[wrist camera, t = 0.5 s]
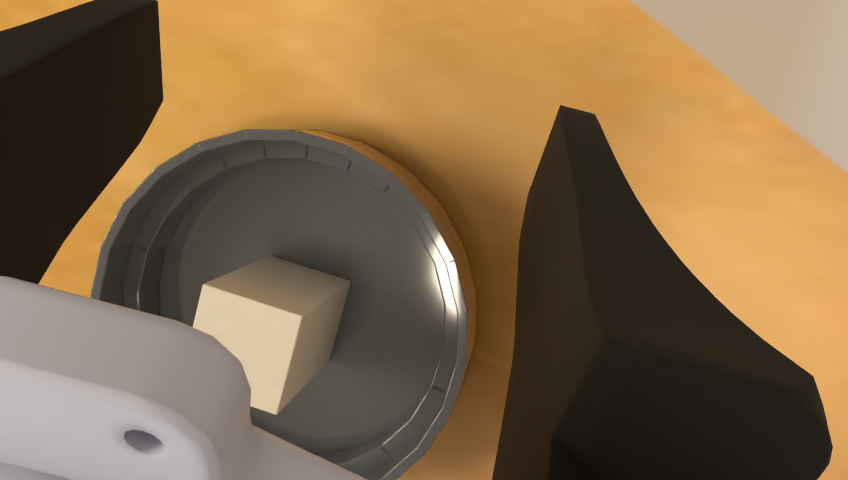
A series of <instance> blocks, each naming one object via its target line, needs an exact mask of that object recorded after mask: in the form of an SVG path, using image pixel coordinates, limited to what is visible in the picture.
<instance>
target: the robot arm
mask: <svg viewBox="0 0 848 480" xmlns="http://www.w3.org/2000/svg"><path fill="white" fill-rule="evenodd" d="M162 101H163V87H162V69H161V51H160V33H159V15H158V1H156V0H94V1H91V2H88V3H85V4H82V5H79V6H76V7H73V8H70V9H67V10H64V11H61V12H58V13H55V14H53V15H50V16H47V17H44V18H41V19H38V20H35V21H32V22H29V23H26V24H23V25H20V26H17V27H13V28H10V29H7V30H3V31H0V480H367V479H365V478H363V477H361V476H359V475H357V474H355V473H353V472H351V471H348V470H346V469H344V468H342V467H340V466H338V465H336V464H334V463H332V462H329V461H327V460H325V459H323V458H321V457H319V456H317V455H315V454H313V453H310V452H308V451H306V450H304V449H302V448H300V447H298V446H296V445H294V444H292V443H289V442H287V441H285V440H283V439H281V438H279V437H277V436H275V435H273V434H270V433H268V432H266V431H264V430H262V429H260V428H258V427H256V426H254V425H252V424H251V418H250V403H251V388H250V385H249V382H248V379H247V377H246V374H245V371H244V368H243V365H242V363H241V362H240V361H239V359H238V358H237V357H236V356H234V355H233V354H232V353H231V352H230V351H229V350H228V349H227V348H226V347H225V346H223V345H222V344H221V343H220V342H219V341H218V340H217V339H216V338H215V337H213V336H211V335H209V334H207V333H205V332H202V331H200V330H198V329H195V328H193V327H191V326H188V325H186V324H184V323H182V322H179V321H176V320H172V319H169V318H165V317H161V316H157V315H153V314H149V313H146V312H142V311H138V310H134V309H130V308H126V307H123V306H119V305H115V304H111V303H107V302H103V301H100V300H96V299H92V298H88V297H84V296H80V295H77V294H73V293H69V292H65V291H61V290H57V289H54V288H50V287H46V286H42V285H38V284H39V282H40V280H41V279H42V277H43V275H44V274H45V272H46V270H47V269H48V267H49V265H50V264H51V262H52V260H53V259H54V257H55V255H56V254H57V252H58V250H59V249H60V247H61V245H62V244H63V242H64V241H65V239H66V238H67V237H68V235H69V234H70V232H71V231H72V230H73V228H74V227H75V225H76V224H77V223H78V221H79V220H80V219H81V218H82V216H83V215H84V214H85V213H86V211H87V210H88V209H89V208H90V206H91V205H92V204H93V202H94V201H95V200H96V199H97V197H98V196H99V195H100V194H101V192H102V191H103V190H104V189H105V187H106V186H107V185H108V183H109V182H110V181H111V180H112V178H113V177H114V176H115V175H116V173H117V172H118V171H119V169H120V168H121V167H122V166H123V164H124V163H125V162H126V160H127V159H128V158H129V157H130V155H131V154H132V153H133V151H134V150H135V149H136V147H137V146H138V145H139V143H140V142H141V140H142V138H143V137H144V135H145V133H146V131H147V130H148V128H149V126H150V124H151V123H152V121H153V119H154V117H155V115H156V113H157V111H158V109H159V107H160V105H161V103H162ZM832 448H833V447H832V442H831V438H830V434H829V430H828V426H827V420H826V416H825V412H824V408H823V404H822V401H821V398H820V395H819V392H818V389H817V386H816V383H815V380H814V377H813V376H812V375H811V374H809V373H808V372H807V371H805V370H804V369H802V368H801V367H800V366H798V365H797V364H796V363H794V362H793V361H792V360H790V359H789V358H787V357H786V356H785V355H783V354H782V353H781V352H779V351H778V350H776V349H775V348H774V347H772V346H771V345H770V344H768V343H767V342H766V341H764V340H763V339H762V338H761V337H759V336H758V335H757V334H756V333H755V332H753V331H752V330H751V329H750V328H749V327H748V326H746V325H745V324H744V323H743V322H742V321H741V320H739V319H738V318H737V317H736V316H735V315H734V314H732V313H731V312H730V311H729V310H728V309H727V308H726V307H725V306H724V305H723V304H722V303H721V302H720V301H719V300H718V299H716V298H715V297H714V296H713V294H712V293H711V292H710V291H709V290H708V289H707V288H706V287H705V286H704V285H703V284H702V283H701V282H700V281H699V280H698V279H697V278H696V277H695V276H694V275H693V274H692V272H691V271H690V270H689V269H688V268H687V267H686V266H685V265H684V263H683V262H682V261H681V260H680V259H679V257H678V256H677V255H676V254H675V252H674V251H673V250H672V249H671V247H670V246H669V245H668V243H667V242H666V241H665V240H664V238H663V237H662V236H661V234H660V233H659V232H658V230H657V229H656V227H655V226H654V225H653V223H652V222H651V220H650V218H649V217H648V215H647V214H646V212H645V211H644V209H643V208H642V206H641V204H640V203H639V201H638V200H637V198H636V196H635V195H634V193H633V191H632V189H631V187H630V185H629V184H628V182H627V180H626V178H625V176H624V174H623V172H622V170H621V168H620V166H619V164H618V162H617V160H616V158H615V156H614V154H613V152H612V150H611V148H610V146H609V143H608V141H607V139H606V137H605V135H604V132H603V130H602V128H601V126H600V124H599V122H598V120H597V118H596V116H595V114H592V113H588V112H584V111H581V110H577V109H573V108H569V107H565V106H561V105H560V108H559V111H558V113H557V116H556V119H555V122H554V124H553V127H552V130H551V133H550V135H549V138H548V141H547V144H546V146H545V149H544V152H543V155H542V157H541V160H540V163H539V166H538V168H537V171H536V174H535V177H534V180H533V182H532V185H531V188H530V191H529V193H528V197H527V203H526V208H525V213H524V218H523V224H522V230H521V235H520V242H519V259H518V279H517V300H516V321H515V341H514V351H513V361H512V368H511V374H510V380H509V386H508V392H507V398H506V405H505V410H504V416H503V422H502V428H501V433H500V439H499V445H498V451H497V456H496V462H495V467H494V472H493V478H492V480H817V479H818V478H819V477H820V475H821V474H822V473H823V471H824V470H825V469H826V467H827V466H828V465H829V462H830V458H831V453H832Z"/></svg>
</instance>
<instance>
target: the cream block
mask: <svg viewBox="0 0 848 480" xmlns="http://www.w3.org/2000/svg"><path fill="white" fill-rule="evenodd" d="M350 283H351V281H349V280H346V279H343V278H340V277H337V276H333V275H330V274H327V273H324V272H321V271H318V270H314V269H311V268H308V267H305V266H302V265H299V264H295V263H292V262H289V261H286V260H283V259H280V258H276V257H273V256H269V257H266V258H264V259H261V260H259V261H257V262H254V263H252V264H250V265H247V266H245V267H243V268H240V269H238V270H235V271H233V272H231V273H228V274H226V275H224V276H221V277H219V278H217V279H214V280H212V281H209V282H207V283H205V284H203V286H202V290H201V294H200V299H199V303H198V307H197V311H196V315H195V320H194V324H193V328H195V329H198V330H200V331H202V332H205V333H207V334H209V335H211V336H213V337H215V338H216V339H217V340H218V341H219V342H220V343H221V344H222V345H223V346H225V347H226V348H227V349H228V350H229V351H230V352H231V353H232V354H233V355H234V356H236V357H237V358H238V359H239V361H240V362H241V363H242V365H243V368H244V371H245V374H246V377H247V379H248V382H249V385H250V388H251V403H250V406H251V407H254V408H257V409H260V410H263V411H266V412H269V413H272V414H275V415H277V414H278V413H279V412H280V411H281V410H282V409H283V408H284V407H285V406H286V405H287V404H288V403H289V402H290V401H291V400H292V399H293V398H294V397H295V396H296V394H297V393H298V392H299V391H300V390H301V389H302V388H303V387H304V386H305V385H306V384H307V383H308V382H309V381H310V380H311V379H312V378H313V377H314V376H315V375H316V374H317V373H318V372H319V371H320V370H321V369H322V368H323V367H324V366H325V365H326V364H327V363H328V362H329V360H330V357H331V353H332V349H333V346H334V342H335V338H336V335H337V331H338V327H339V323H340V320H341V316H342V312H343V309H344V305H345V301H346V298H347V294H348V290H349V287H350Z"/></svg>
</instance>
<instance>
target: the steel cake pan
mask: <svg viewBox="0 0 848 480" xmlns="http://www.w3.org/2000/svg"><path fill="white" fill-rule="evenodd" d="M269 256H273V257H276V258H280V259H283V260H286V261H289V262H292V263H295V264H299V265H302V266H305V267H308V268H311V269H314V270H318V271H321V272H324V273H327V274H330V275H333V276H337V277H340V278H343V279H346V280H349V281H351V283H350V287H349V290H348V294H347V298H346V301H345V305H344V309H343V312H342V316H341V320H340V323H339V327H338V331H337V335H336V338H335V342H334V346H333V349H332V353H331V357H330V360H329V362H328V363H327V364H326V365H325V366H324V367H323V368H322V369H321V370H320V371H319V372H318V373H317V374H316V375H315V376H314V377H313V378H312V379H311V380H310V381H309V382H308V383H307V384H306V385H305V386H304V387H303V388H302V389H301V390H300V391H299V392H298V393H297V394H296V396H295V397H294V398H293V399H292V400H291V401H290V402H289V403H288V404H287V405H286V406H285V407H284V408H283V409H282V410H281V411H280V412H279V413H278V414H277V415H275V414H272V413H269V412H266V411H263V410H260V409H257V408H254V407H251V406H250V418H251V424H252V425H254V426H256V427H258V428H260V429H262V430H264V431H266V432H268V433H270V434H273V435H275V436H277V437H279V438H281V439H283V440H285V441H287V442H289V443H292V444H294V445H296V446H298V447H300V448H302V449H304V450H306V451H308V452H310V453H313V454H315V455H317V456H319V457H321V458H323V459H325V460H327V461H329V462H332V463H334V464H336V465H338V466H340V467H342V468H344V469H346V470H348V471H351V472H353V473H355V474H357V475H359V476H361V477H363V478H365V479H367V480H397V479H398V478H399V477H400V476H401V475H402V474H403V473H405V472H406V471H407V470H408V469H409V468H410V467H411V466H413V465H414V464H415V463H416V462H417V461H418V460H419V459H421V458H422V457H423V456H424V455H425V453H427V451H428V450H429V448H430V446H431V445H432V443H433V442H434V440H435V439H436V437H437V436H438V434H439V433H440V431H441V429H442V428H443V426H444V425H445V423H446V422H447V420H448V419H449V417H450V415H451V414H452V412H453V409H454V406H455V403H456V400H457V397H458V394H459V391H460V389H461V386H462V382H463V379H464V376H465V373H466V369H467V366H468V363H469V359H470V356H471V353H472V350H473V346H474V343H475V323H476V295H475V294H476V291H475V287H474V283H473V279H472V275H471V271H470V266H469V262H468V258H467V254H466V250H465V248H464V245H463V243H462V241H461V239H460V238H459V236H458V234H457V232H456V230H455V228H454V227H453V225H452V223H451V221H450V219H449V217H448V216H447V214H446V212H445V210H444V208H443V206H441V204H440V202H439V201H438V200H437V199H436V198H435V197H434V196H433V195H432V194H431V193H430V192H429V191H428V190H427V189H426V188H425V187H424V186H423V185H422V183H421V182H420V181H419V180H418V179H417V178H416V177H415V176H414V175H413V174H412V173H411V172H410V171H409V170H407V169H406V168H405V167H403V166H402V165H400V164H398V163H397V162H395V161H393V160H392V159H390V158H389V157H387V156H385V155H384V154H382V153H380V152H379V151H377V150H376V149H374V148H372V147H371V146H369V145H367V144H365V143H361V142H358V141H355V140H351V139H348V138H344V137H341V136H338V135H334V134H331V133H327V132H324V131H311V130H271V129H246V130H245V129H244V130H240V131H237V132H233V133H229V134H226V135H222V136H218V137H214V138H211V139H207V140H203V141H200V142H198V143H195V144H193V145H192V146H190V147H188V148H187V149H185V150H184V151H182V152H180V153H179V154H177V155H175V156H174V157H172V158H170V159H169V160H167V161H165V162H164V163H162V164H160V165H159V166H157V167H156V168H155V169H154V170H153V171H152V172H151V173H150V174H149V175H148V176H147V177H146V178H145V179H144V181H143V182H142V183H141V184H140V185H139V186H138V187H137V188H136V189H135V190H134V191H133V192H132V194H131V195H130V196H129V197H128V198H127V199H126V200H125V201H124V202H123V204H122V205H121V207H120V209H119V211H118V213H117V215H116V217H115V219H114V221H113V223H112V225H111V227H110V229H109V231H108V233H107V235H106V237H105V239H104V241H103V243H102V245H101V247H100V252H99V257H98V261H97V266H96V271H95V275H94V280H93V285H92V289H91V298H92V299H96V300H100V301H103V302H107V303H111V304H115V305H119V306H123V307H126V308H130V309H134V310H138V311H142V312H146V313H149V314H153V315H157V316H161V317H165V318H169V319H172V320H176V321H179V322H182V323H184V324H186V325H188V326H191V327H193V324H194V320H195V315H196V311H197V307H198V303H199V299H200V294H201V290H202V286H203V284H205V283H207V282H209V281H212V280H214V279H217V278H219V277H221V276H224V275H226V274H228V273H231V272H233V271H235V270H238V269H240V268H243V267H245V266H247V265H250V264H252V263H254V262H257V261H259V260H261V259H264V258H266V257H269Z"/></svg>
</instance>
